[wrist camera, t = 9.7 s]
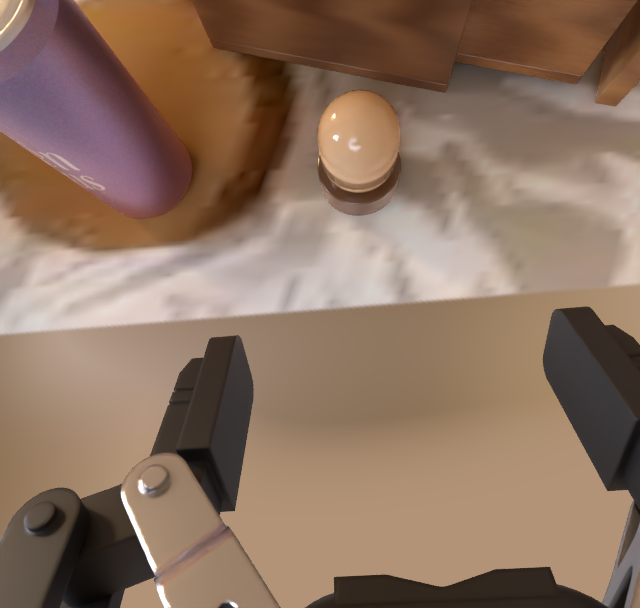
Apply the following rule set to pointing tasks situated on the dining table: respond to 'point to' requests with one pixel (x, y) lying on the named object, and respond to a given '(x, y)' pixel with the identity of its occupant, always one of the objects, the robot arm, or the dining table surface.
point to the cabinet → (345, 35)
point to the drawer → (557, 40)
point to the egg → (359, 152)
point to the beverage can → (85, 110)
